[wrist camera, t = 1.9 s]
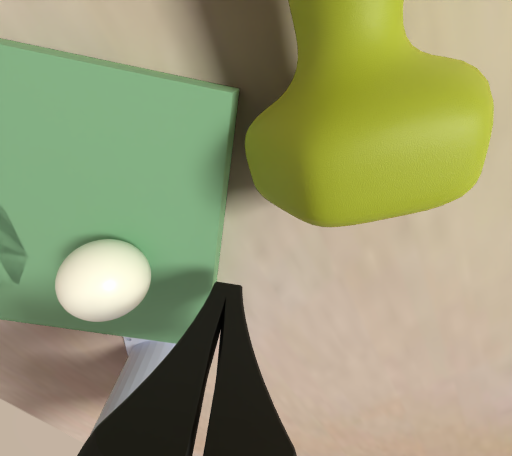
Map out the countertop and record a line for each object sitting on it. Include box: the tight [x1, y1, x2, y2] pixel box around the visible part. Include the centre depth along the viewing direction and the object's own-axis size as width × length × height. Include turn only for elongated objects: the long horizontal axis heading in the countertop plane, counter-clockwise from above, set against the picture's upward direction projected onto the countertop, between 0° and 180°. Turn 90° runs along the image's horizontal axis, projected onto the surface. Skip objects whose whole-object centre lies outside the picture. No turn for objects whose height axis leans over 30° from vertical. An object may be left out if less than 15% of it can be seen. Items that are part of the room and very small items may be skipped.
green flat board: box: [0, 38, 240, 344], centre depth 14 cm, size 18×23×2 cm
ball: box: [55, 239, 151, 322], centre depth 12 cm, size 4×4×4 cm
